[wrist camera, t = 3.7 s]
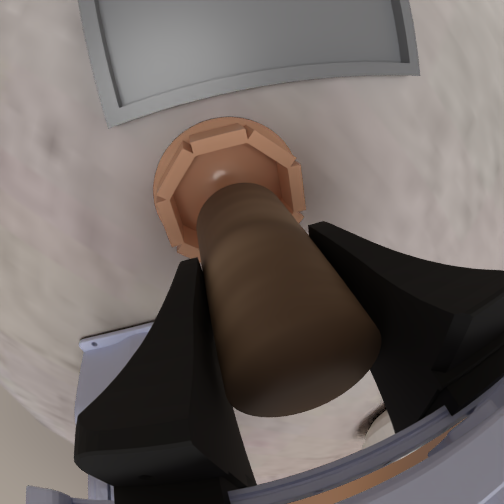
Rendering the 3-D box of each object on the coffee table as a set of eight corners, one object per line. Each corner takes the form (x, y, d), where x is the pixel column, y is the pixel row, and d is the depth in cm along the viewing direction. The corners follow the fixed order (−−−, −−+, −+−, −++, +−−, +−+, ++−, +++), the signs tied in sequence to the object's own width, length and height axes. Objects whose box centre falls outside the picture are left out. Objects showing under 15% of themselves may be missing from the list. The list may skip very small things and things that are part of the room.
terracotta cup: (178, 266, 19) (180, 290, 17) (134, 141, 14) (127, 151, 12) (302, 231, 20) (318, 250, 18) (285, 103, 15) (302, 107, 13)
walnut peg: (209, 273, 14) (244, 429, 8) (185, 197, 12) (202, 353, 5) (290, 250, 15) (371, 385, 8) (278, 172, 12) (391, 290, 6)
